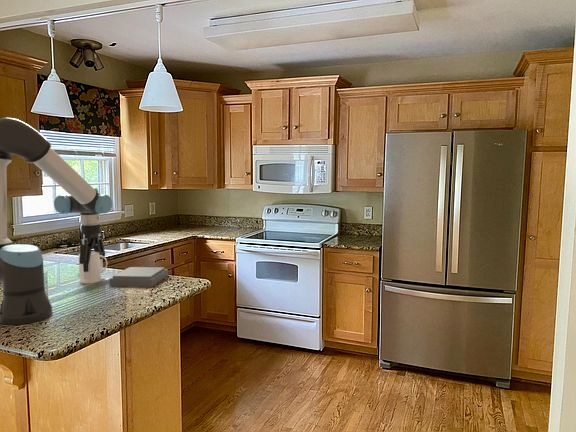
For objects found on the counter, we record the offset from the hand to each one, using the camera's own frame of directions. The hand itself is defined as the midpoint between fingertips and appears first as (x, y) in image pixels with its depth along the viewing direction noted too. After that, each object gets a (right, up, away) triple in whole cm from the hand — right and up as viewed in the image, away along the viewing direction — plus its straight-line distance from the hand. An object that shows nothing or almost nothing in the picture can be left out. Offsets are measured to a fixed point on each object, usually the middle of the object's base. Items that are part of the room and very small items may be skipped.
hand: (93, 276), depth 191 cm
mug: (0, -2, +1) cm, 2 cm away
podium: (+20, -2, -1) cm, 20 cm away
